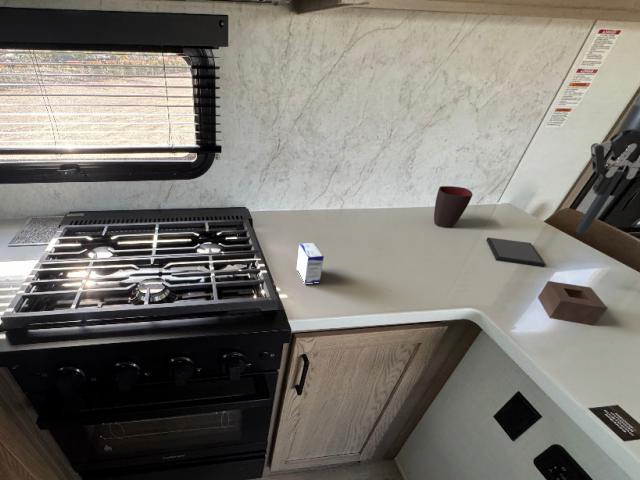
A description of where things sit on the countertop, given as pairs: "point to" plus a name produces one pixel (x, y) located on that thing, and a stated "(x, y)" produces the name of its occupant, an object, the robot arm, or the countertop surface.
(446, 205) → the cup
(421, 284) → the countertop surface
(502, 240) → the tablet
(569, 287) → the pen holder
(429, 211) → the countertop surface
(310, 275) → the box
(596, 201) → the stylus
